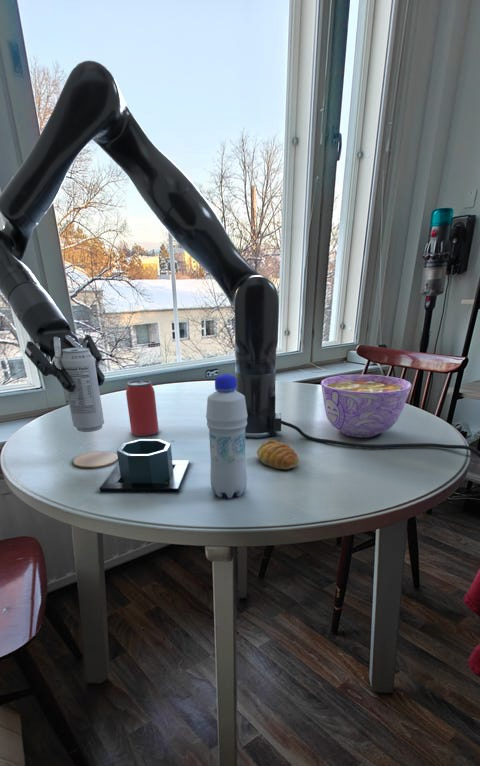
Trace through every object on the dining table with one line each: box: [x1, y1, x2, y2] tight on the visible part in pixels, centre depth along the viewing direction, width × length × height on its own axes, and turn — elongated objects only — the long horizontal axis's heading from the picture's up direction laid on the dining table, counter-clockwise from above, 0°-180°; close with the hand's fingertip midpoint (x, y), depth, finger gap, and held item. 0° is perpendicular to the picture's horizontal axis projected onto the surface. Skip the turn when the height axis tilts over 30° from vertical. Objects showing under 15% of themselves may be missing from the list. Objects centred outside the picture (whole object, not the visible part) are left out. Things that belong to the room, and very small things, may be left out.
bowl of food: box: [320, 374, 413, 438], centre depth 106 cm, size 20×20×12 cm
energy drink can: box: [61, 348, 105, 433], centre depth 88 cm, size 6×6×15 cm
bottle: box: [205, 373, 248, 499], centre depth 75 cm, size 7×7×20 cm
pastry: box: [256, 439, 300, 470], centre depth 91 cm, size 9×7×4 cm
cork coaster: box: [73, 451, 118, 469], centre depth 95 cm, size 9×9×1 cm
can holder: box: [99, 438, 190, 494], centre depth 85 cm, size 14×14×6 cm
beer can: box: [125, 379, 160, 437], centre depth 109 cm, size 7×7×12 cm
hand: (87, 385), depth 87 cm, fingers closed on energy drink can, 6 cm apart
